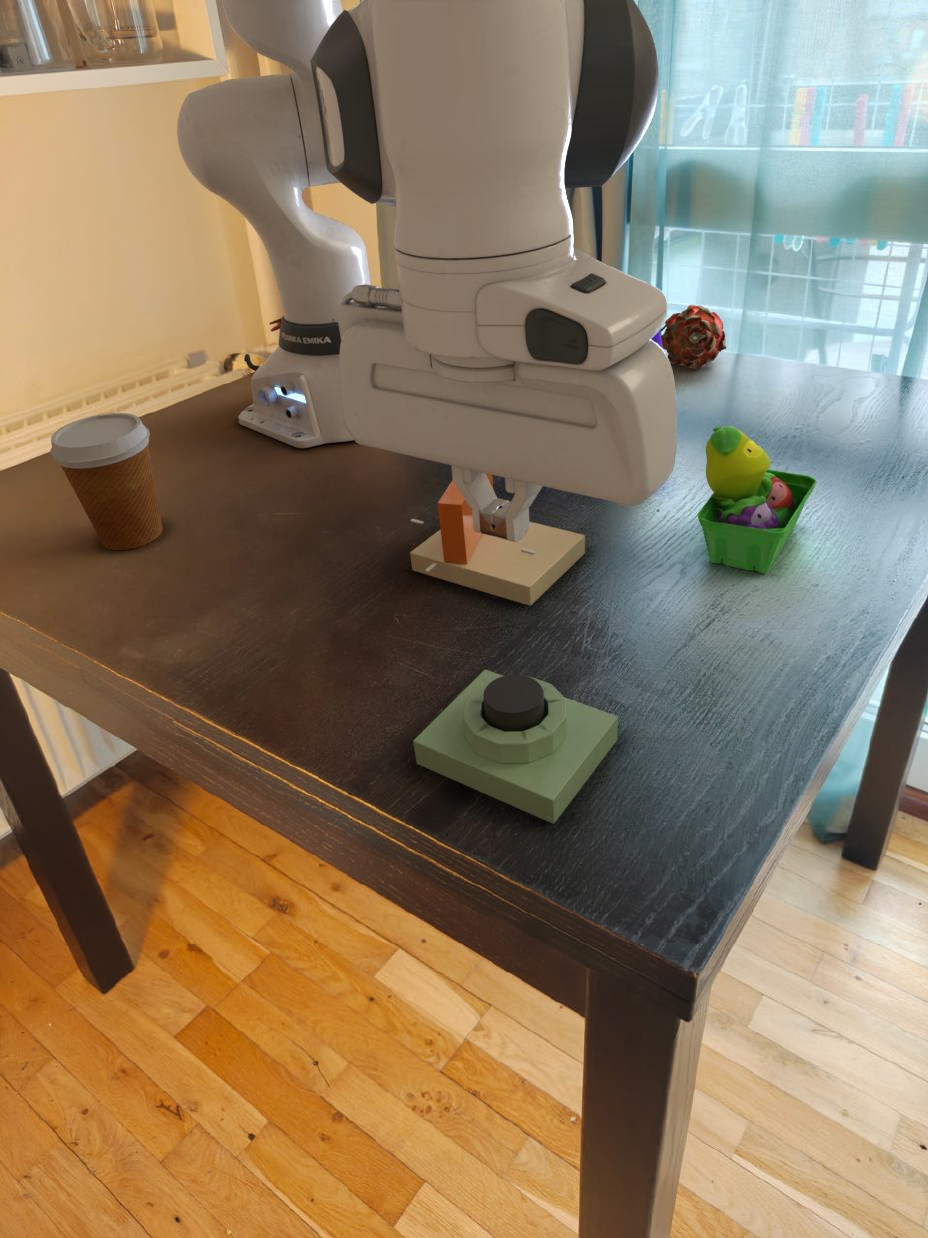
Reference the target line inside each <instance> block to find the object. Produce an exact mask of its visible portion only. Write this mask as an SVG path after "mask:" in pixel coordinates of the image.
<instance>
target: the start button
mask: <svg viewBox="0 0 928 1238" xmlns="http://www.w3.org/2000/svg"><path fill="white" fill-rule="evenodd" d="M530 677H531V676H527V675H524V674H507V675H502V677H499V678H497V679H495V680H493V681H492V682H490V683H489V684H488V685H487V687H486V688H485V690H484V694H483V697H484V708H485V717H486V720H487V721H488V723H489V724H490V725H491V726H492V727H494V728H496V729H499V730H502V731H504V732H520V731H525V730H528V729H530V728H533V727H535V726H537V725H538V724H539V723H540V722H541V721H542V719H543V717H544V692H543V688H542V686H541V685H540V684H539V683H538V682H537V681H536V680H534V679H533V678H534V677H532V678H530Z"/></svg>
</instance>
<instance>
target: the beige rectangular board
mask: <svg viewBox="0 0 928 1238" xmlns="http://www.w3.org/2000/svg"><path fill="white" fill-rule="evenodd" d="M409 521H410V522H411V523H415V524H418V525H424V523H425V522H424V521H422V520H419V519H415V518H411V519H410V520H409ZM585 554H586V535H585V534H582V533H577V532H573V531H570V530H566V529H562V528H558V527H553V526H549V525H545V524H542V523H537V522H534V521H529V530H528V533H527V535H526V536H524V537H523V538H522V539H521V540H520V541H519V542H513V541H509V540H506V539H502V538H499V537H494V536H490V535H486V534H483V535H482V537H481V539H480V541H479V543H478V545H477V547H476V548H475V550H474V552H473V554H472V556H471V558H470V560H469V562H468V563H467V564H460V563H447V562H444V556H443V547H442V538H441V529H440V528H439V530H438V531H436V532H435V533H434V534H432V535H431V536H429V537H428V538H427V539H426V540H425V541H423V542H422V543H421V544H419V545H418V546H417V547H415V548H414V549H413V550H411V551H410V552H409V555H410V563H411V570H412V571H414V572H416V573H419V574H423V575H427V576H430V577H433V578H436V579H440V580H444V581H447V582H449V583H453V584H456V585H460V586H463V587H466V588H470V589H473V590H476V591H480V592H483V593H486V594H490V595H493V596H496V597H498V598H499V597H500V598H502V599H506V600H510V601H513V602H517V603H519V604H522V605H525V606H526V605H527V606H533V604H535V602H536V601H537V600H539V599H540V598H541V597H542V595H544V594H545V593H546V592H547V590H549V589H550V588H551V587H552V586H553V585H554V584H555V583H556V582H557V581H558V580H559V579H560V578H561V577H562V576H563V575H564V574H565V573H566V572H568V571H569V570H570V569H571V567H573V566H574V564H576V563H577V562H578V561H579V560H580V559H581V558H582V557H583V556H584V555H585Z"/></svg>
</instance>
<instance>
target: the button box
mask: <svg viewBox="0 0 928 1238" xmlns="http://www.w3.org/2000/svg"><path fill="white" fill-rule="evenodd" d="M502 676H503V675H502V674H499V673H496V672H493V671H491V670H489V669H483V671H482V672H480V674H479V675H478V676H477V677H476V678H475V679H474V680H473V681H472V682H470V684H469V685H468V686H467V687H466V688H464V690H462V691H461V692H460V693H459V695H458V696H457V697H456V698H454V699H453V700H452V702H450V703H449V704H448V706H446V707H445V708H444V710H442V712H441V713H439V714H438V716H437V717H435V718H434V719H433V720H432V721H431V722H430V723H429V725H427V726H426V727H425V729H423V730H422V732H420V733H419V734H418V735H417V736H416V737H415V738H414V739H413V741H412V743H413V748H414V755H415V756H414V757H415V763H416V764H417V765H418V766H421V767H423V768H425V769H427V770H430V771H433V772H435V773H437V774H439V775H441V776H443V777H445V778H448V779H451V780H453V781H454V782H457V783H458V784H459V783H460V784H462V785H464V786H466V787H469V788H471V789H472V790H475V791H478V792H480V793H483V794H485V795H487V796H489V797H491V798H494V799H496V800H498V801H501V802H503V803H505V804H508V805H509V806H512V807H514V808H516V809H519V810H521V811H523V812H526V813H528V814H530V815H532V816H534V817H537V818H539V819H541V820H543V821H546V822H548V823H550V824H553V825H554V824H555V823H556V822H557V821H558V819H559V818H560V817H561V815H562V814H563V813H564V812H565V810H566V809H567V807H568V806H569V805H570V804H571V802H572V801H573V800H574V798H575V797H576V795H578V793H579V792H580V790H581V789H582V788H583V786H584V785H585V783H586V782H587V781H588V780H589V778H591V775H592V774H593V773H594V772H595V770H596V769H597V767H599V765H600V764H601V762H602V761H603V760H604V758H606V756H607V754H609V752H610V750H611V749H612V748H613V747H614V745H615V743H617V741H618V735H619V734H618V733H619V730H618V729H619V726H618V725H619V716H618V715H616V714H612V713H610V712H606V711H603V710H602V709H598V708H595V707H592V706H590V705H587V704H583V703H581V702H579V701H576V700H573V699H570V698H567V697H564V695H562V694H561V692H560V691H558V689H557V688H556V687H555V686H554V685H553V684H551V683H549V682H546V681H544V680H542V679H541V680H540V679H537V678H536V677H532V676H529V677H530V678H533V679H534V680H536V681H537V682H538V683H539V684H540V685H541V686H542V688H543V692H544V717H543V719H542V721H541V722H540V723H539V724H538V725H537V726H535V727H533V728H530V729H528V730H525V731H520V732H504V731H502V730H499V729H496V728H494V727H492V726H491V725H490V724H489V723H488V721H487V720H486V717H485V708H484V697H483V694H484V690H485V688H486V687H487V685H488V684H489V683H490V682H492V681H493V680H495V679H497V678H499V677H502Z"/></svg>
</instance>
